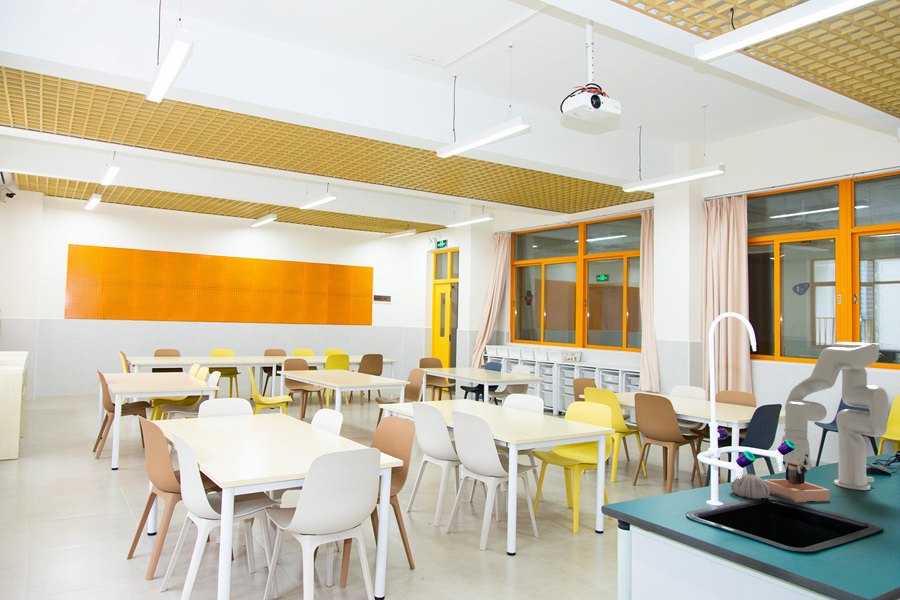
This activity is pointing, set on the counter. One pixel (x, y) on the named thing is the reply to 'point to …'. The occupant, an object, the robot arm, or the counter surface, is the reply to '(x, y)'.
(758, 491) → the sea urchin shell
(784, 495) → the tray
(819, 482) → the counter surface
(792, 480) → the battery cell
